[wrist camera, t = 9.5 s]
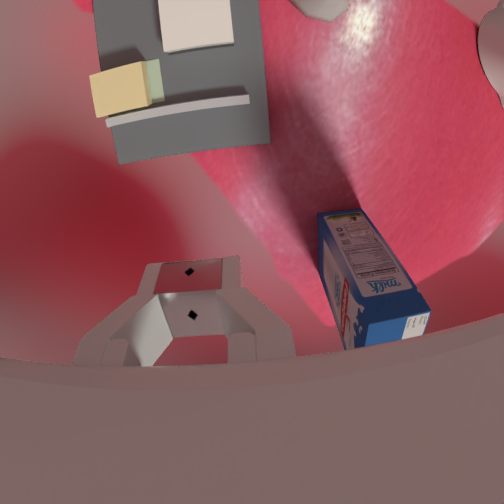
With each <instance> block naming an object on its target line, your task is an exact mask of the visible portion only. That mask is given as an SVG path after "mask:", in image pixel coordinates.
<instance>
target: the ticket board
mask: <svg viewBox="0 0 504 504" xmlns="http://www.w3.org/2000/svg"><path fill="white" fill-rule="evenodd" d="M93 9H94V20H95V29H96V37H97V46H98V54H99V61H100V68H101V72H102V71H106V70H109V69H113V68H116V67H120V66H124V65H128V64H132V63H136V62H140V61H146V66H147V73H148V80H149V86H150V93H151V99H152V104H150V105H149V106H145V107H141V108H136V109H131V110H127V111H123V112H118V113H114V114H110V115H109V118H107V119H106V125H107V127H111V130H112V135H113V139H114V144H115V148H116V152H117V157H118V162H119V165H120V164H124V163H130V162H135V161H140V160H146V159H152V158H158V157H164V156H170V155H177V154H183V153H190V152H198V151H205V150H213V149H221V148H230V147H239V146H249V145H260V144H271V140H270V126H269V113H268V100H267V88H266V76H265V65H264V53H263V42H262V32H261V21H260V11H259V2H258V0H93Z"/></svg>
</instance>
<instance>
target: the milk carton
mask: <svg viewBox="0 0 504 504" xmlns="http://www.w3.org/2000/svg"><path fill="white" fill-rule="evenodd" d="M318 258H319V275H320V278H321V281H322V284H323V287H324V290H325V293H326V295H327V298H328V301H329V304H330V307H331V310H332V313H333V316H334V319H335V322H336V325H337V328H338V331H339V334H340V337H341V340H342V343H343V346H344V350H348V349H354V348H360V347H366V346H371V345H377V344H382V343H387V342H392V341H397V340H402V339H407V338H411V337H416V336H420V335H423V334H424V331H425V328H426V325H427V322H428V319H429V316H430V313H431V309H430V308H429V306H428V305H427V303H426V301H425V300H424V298H423V296H422V295H421V293H420V292H419V290H418V289H417V287H416V285H415V284H414V282H413V281H412V279H411V278H410V276H409V275H408V273H407V272H406V270H405V269H404V267H403V266H402V264H401V263H400V261H399V260H398V258H397V257H396V255H395V254H394V253H393V251H392V250H391V248H390V247H389V245H388V244H387V243H386V241H385V240H384V238H383V237H382V236H381V234H380V233H379V231H378V230H377V229H376V227H375V226H374V225H373V223H372V222H371V221H370V219H369V218H368V216H367V215H366V214H365V212H364V211H363V210H362V209H355V210H346V211H337V212H329V213H321V214H318Z"/></svg>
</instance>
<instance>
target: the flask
mask: <svg viewBox="0 0 504 504" xmlns="http://www.w3.org/2000/svg"><path fill="white" fill-rule="evenodd" d="M289 1H290V2H291V3H292V4H293V5H294V6H295V7H296V8H297V9H298V10H299V11H301V12H302V13H303V14H304V15H305V16H306V17H310V18H314V19H318V20H323V21H327V22H332V21H333V20H335V19H336V18H337V17H338V16H340V15H341V14H342V13H344V12H345V11H346V10H348V5H349V0H289Z"/></svg>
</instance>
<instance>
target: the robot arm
mask: <svg viewBox="0 0 504 504" xmlns="http://www.w3.org/2000/svg"><path fill="white" fill-rule="evenodd" d="M478 49H479V55H480V60H481V64H482V67H483V70H484V72H485V74H486V76H487V78H488V80H489V82H490V83H491V85H492V86H493V88H494V89H495V90H496V91H497V93H498V95H499V97H500V100H501V103H502V106H503V108H504V0H500V2H499V4H498V6H497V8H496V9H494V10H492V11H490V12H488V13H487V14H486V15H485V16H484V18H483V20H482V22H481V24H480V27H479V33H478ZM221 334H225V336H226V337H227V338H228V363H227V364H210V365H191V366H189V365H188V366H152V365H153V364H154V362H155V361H156V360H157V359H158V357H159V356H160V355H161V354H162V352H163V351H164V350H165V349H166V347H167V346H168V344H169V343H170V342H171V341H172V340H173V337H185V336H197V335H221ZM0 504H504V313H502V314H499V315H496V316H492V317H489V318H486V319H482V320H479V321H475V322H472V323H468V324H465V325H461V326H457V327H453V328H449V329H445V330H442V331H437V332H433V333H429V334H425V335H420V336H416V337H411V338H407V339H402V340H397V341H392V342H387V343H382V344H377V345H371V346H366V347H360V348H354V349H348V350H343V351H336V352H329V353H323V354H316V355H308V356H301V357H296V352H295V348H294V341H293V336H292V331H291V327H290V326H289V325H288V324H287V323H286V322H284V321H283V320H282V319H281V318H280V317H278V316H277V315H276V314H275V313H274V312H273V311H272V310H270V309H269V308H268V307H267V306H266V305H265V304H263V303H262V302H261V301H260V300H259V299H258V298H257V297H255V296H254V295H253V294H252V293H251V292H249V290H247V289H246V288H245V287H243V280H242V272H241V264H240V257H239V256H238V255H236V256H229V257H223V258H215V259H206V260H197V261H180V262H167V263H155V264H149V265H147V266H146V269H145V272H144V275H143V278H142V280H141V283H140V286H139V289H138V292H137V295H136V296H132V297H130V298H129V299H128V300H127V301H126V302H124V303H123V304H122V305H121V306H119V307H118V308H117V309H116V310H115V311H113V312H112V313H111V314H110V315H109V316H107V317H106V318H105V319H104V320H103V321H101V322H100V323H99V324H98V325H97V326H95V327H94V328H93V329H92V330H91V331H89V332H88V333H87V334H86V335H85V336H84V337H82V339H81V342H80V344H79V347H78V349H77V352H76V354H75V357H74V360H73V362H72V364H58V363H46V362H35V361H25V360H16V359H7V358H0Z"/></svg>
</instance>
